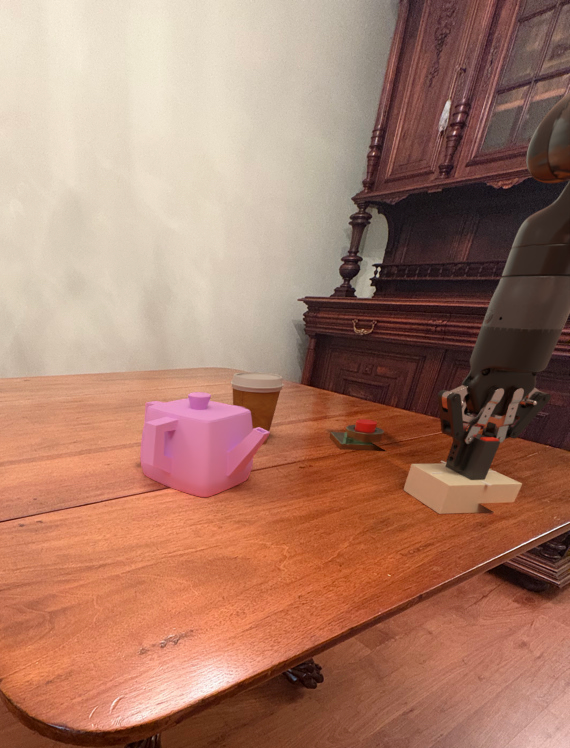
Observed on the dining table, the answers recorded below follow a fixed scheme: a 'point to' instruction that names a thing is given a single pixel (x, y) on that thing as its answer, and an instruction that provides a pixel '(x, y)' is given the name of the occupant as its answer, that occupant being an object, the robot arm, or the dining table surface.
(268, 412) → the disposable coffee cup
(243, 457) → the teakettle
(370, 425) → the power button
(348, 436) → the switch block
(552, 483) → the dining table surface
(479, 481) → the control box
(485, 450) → the switch lever
